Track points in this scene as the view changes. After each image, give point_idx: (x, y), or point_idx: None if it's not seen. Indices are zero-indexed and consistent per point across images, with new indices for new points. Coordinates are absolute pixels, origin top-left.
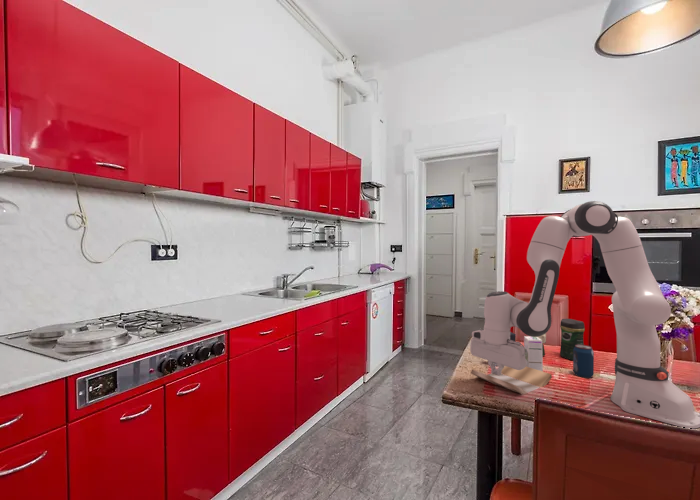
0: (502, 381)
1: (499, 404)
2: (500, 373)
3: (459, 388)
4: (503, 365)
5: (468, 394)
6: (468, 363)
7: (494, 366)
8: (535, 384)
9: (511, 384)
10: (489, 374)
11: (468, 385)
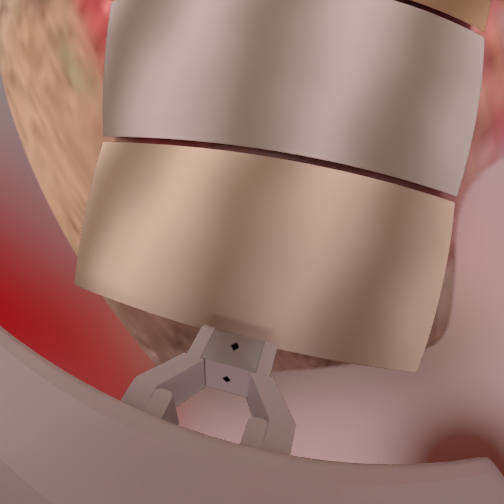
0: (314, 354)
1: (341, 364)
2: (273, 361)
3: (145, 322)
4: (288, 444)
5: None
6: (4, 31)
7: (187, 374)
8: (445, 5)
9: (383, 367)
10: (108, 78)
11: None
